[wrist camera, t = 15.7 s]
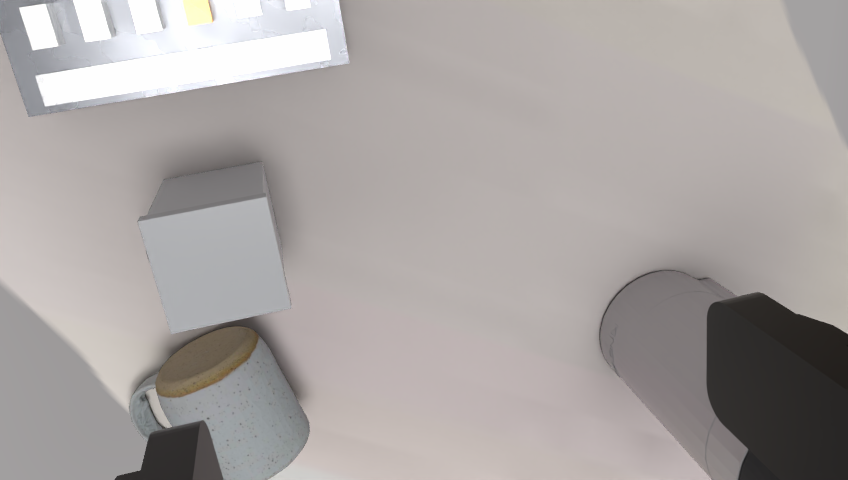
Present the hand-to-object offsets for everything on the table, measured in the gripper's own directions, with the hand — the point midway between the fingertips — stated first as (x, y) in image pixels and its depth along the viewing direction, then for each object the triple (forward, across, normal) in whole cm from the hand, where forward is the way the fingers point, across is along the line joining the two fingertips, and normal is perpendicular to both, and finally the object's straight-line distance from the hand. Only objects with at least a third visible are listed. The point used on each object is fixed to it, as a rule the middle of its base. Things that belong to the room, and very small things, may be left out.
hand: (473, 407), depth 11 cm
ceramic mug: (+36, +10, +19) cm, 42 cm away
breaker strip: (+36, +6, -5) cm, 37 cm away
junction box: (+36, +7, +7) cm, 38 cm away
